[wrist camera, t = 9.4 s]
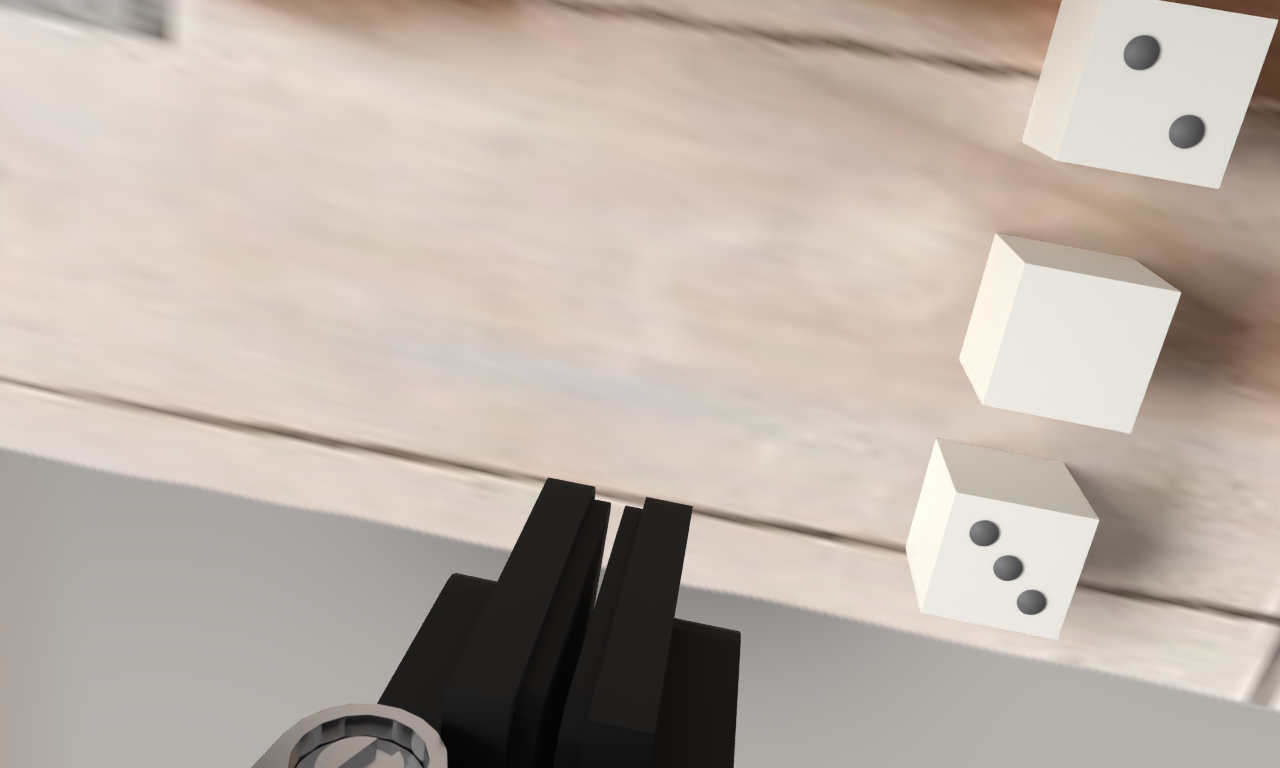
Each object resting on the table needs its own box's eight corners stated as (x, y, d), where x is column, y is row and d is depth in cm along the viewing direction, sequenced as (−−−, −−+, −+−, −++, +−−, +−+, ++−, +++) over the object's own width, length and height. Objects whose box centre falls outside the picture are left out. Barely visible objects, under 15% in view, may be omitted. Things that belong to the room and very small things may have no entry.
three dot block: (936, 437, 50) (956, 493, 44) (1065, 462, 49) (1102, 521, 44) (905, 547, 52) (921, 613, 46) (1028, 571, 51) (1059, 641, 46)
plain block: (995, 232, 46) (1025, 263, 41) (1132, 258, 46) (1181, 292, 40) (958, 358, 48) (982, 404, 43) (1089, 384, 48) (1130, 433, 42)
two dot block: (1063, -6, 43) (1107, -9, 37) (1214, 19, 42) (1282, 20, 37) (1021, 141, 45) (1057, 161, 39) (1165, 167, 44) (1222, 189, 39)
